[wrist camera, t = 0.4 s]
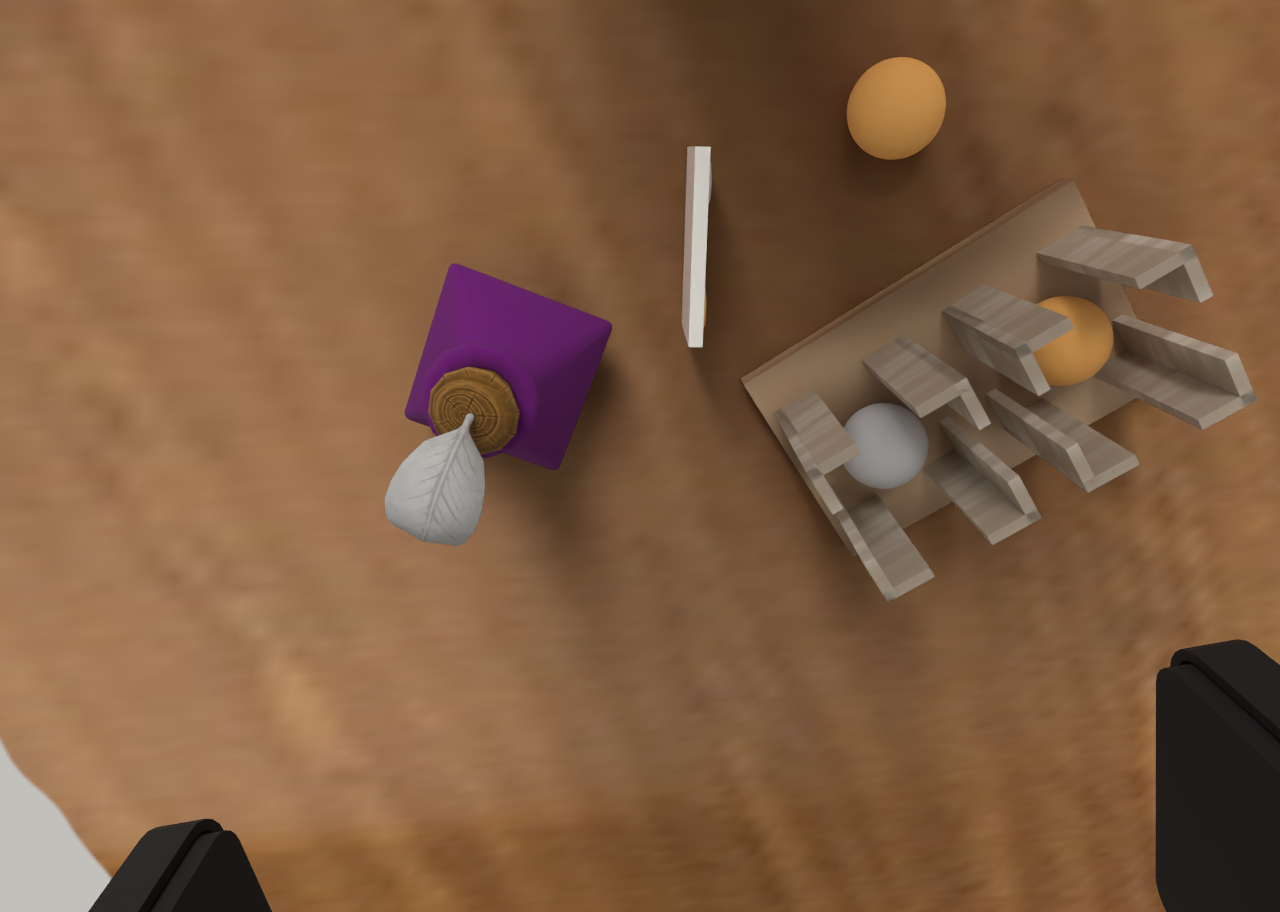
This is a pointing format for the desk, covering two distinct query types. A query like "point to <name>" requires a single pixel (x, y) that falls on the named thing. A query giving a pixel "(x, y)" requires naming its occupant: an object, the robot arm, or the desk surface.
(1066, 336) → the seated orange ball
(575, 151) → the desk surface
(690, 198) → the card
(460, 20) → the desk surface
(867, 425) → the grey ball
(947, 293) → the ball rack
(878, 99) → the orange ball
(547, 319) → the purple potion bottle
